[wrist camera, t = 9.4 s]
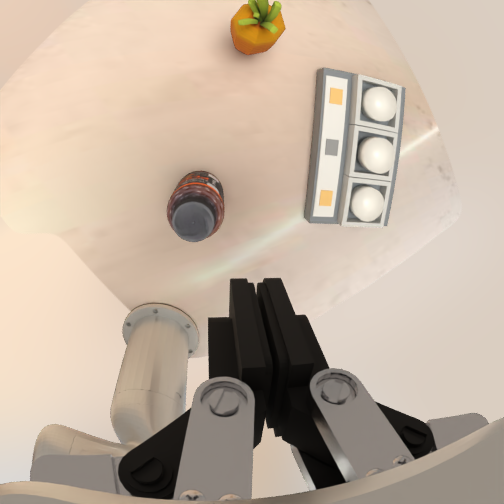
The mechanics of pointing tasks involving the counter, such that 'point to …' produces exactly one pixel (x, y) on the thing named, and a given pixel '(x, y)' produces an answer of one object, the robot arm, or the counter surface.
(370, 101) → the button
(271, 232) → the counter surface
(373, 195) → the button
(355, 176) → the panel
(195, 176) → the supplement bottle
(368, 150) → the button middle
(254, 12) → the carrot
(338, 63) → the counter surface
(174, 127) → the counter surface
